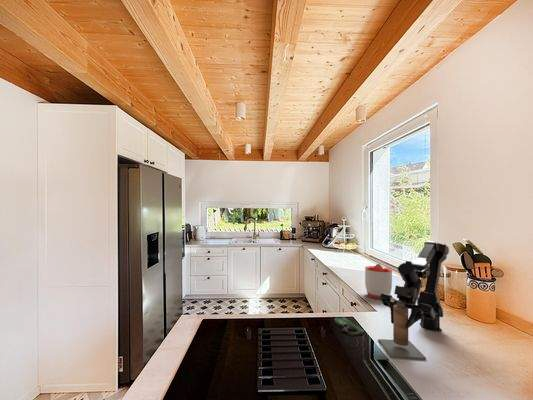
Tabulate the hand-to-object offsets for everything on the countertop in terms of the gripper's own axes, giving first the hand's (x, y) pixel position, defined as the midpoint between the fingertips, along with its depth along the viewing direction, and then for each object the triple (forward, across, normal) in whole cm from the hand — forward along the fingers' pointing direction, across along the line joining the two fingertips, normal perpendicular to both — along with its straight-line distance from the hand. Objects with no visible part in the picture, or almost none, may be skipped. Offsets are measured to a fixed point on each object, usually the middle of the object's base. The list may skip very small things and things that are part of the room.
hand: (399, 325), depth 97 cm
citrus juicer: (-32, -36, +46) cm, 67 cm away
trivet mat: (+6, 0, +7) cm, 9 cm away
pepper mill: (+4, 0, +6) cm, 7 cm away
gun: (+6, -24, +9) cm, 26 cm away
